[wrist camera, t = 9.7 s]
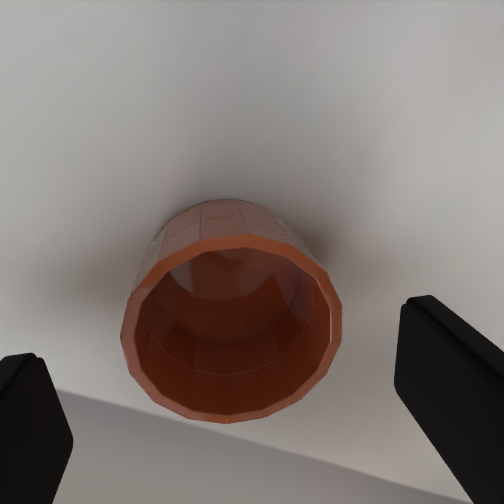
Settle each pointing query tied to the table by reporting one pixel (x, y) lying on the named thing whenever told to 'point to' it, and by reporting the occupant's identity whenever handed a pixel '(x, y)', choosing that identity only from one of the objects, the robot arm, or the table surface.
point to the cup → (230, 315)
